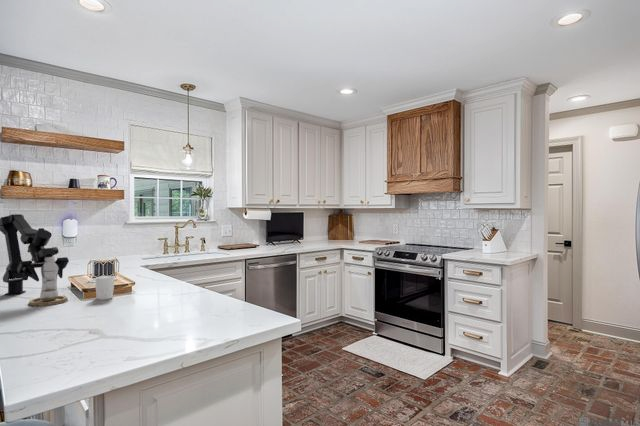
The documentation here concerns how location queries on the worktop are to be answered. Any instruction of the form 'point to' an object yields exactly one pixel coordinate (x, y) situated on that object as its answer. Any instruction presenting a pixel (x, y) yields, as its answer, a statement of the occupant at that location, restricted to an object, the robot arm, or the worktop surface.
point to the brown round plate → (47, 303)
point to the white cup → (104, 287)
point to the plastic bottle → (49, 280)
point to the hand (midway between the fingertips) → (50, 279)
